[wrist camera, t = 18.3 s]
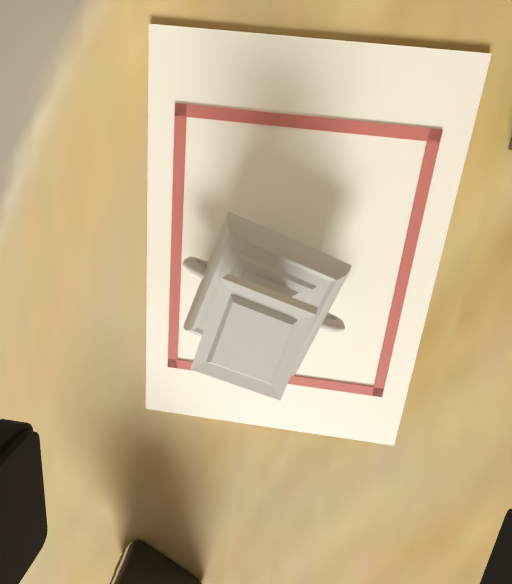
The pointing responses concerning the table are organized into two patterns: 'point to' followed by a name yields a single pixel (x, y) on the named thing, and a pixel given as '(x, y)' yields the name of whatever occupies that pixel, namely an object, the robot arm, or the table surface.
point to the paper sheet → (305, 205)
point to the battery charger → (148, 568)
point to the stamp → (260, 305)
